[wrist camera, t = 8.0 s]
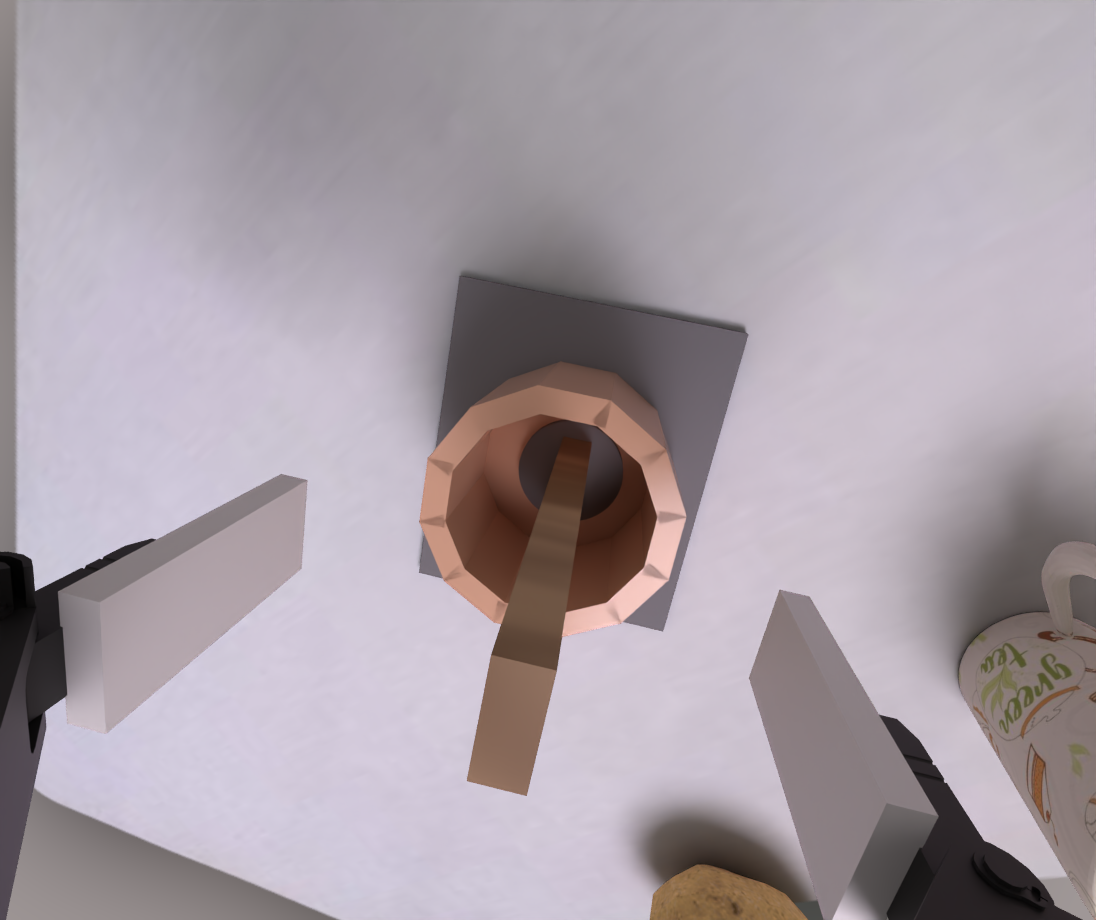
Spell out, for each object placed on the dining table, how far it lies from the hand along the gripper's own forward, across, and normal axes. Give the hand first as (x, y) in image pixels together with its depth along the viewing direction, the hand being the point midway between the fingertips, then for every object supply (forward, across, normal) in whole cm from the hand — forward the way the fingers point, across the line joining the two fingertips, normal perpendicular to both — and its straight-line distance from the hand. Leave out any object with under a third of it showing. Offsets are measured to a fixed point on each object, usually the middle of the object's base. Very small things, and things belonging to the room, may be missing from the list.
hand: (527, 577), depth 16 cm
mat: (+11, 0, 0) cm, 11 cm away
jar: (+11, 0, 0) cm, 11 cm away
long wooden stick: (+10, 0, 0) cm, 10 cm away
